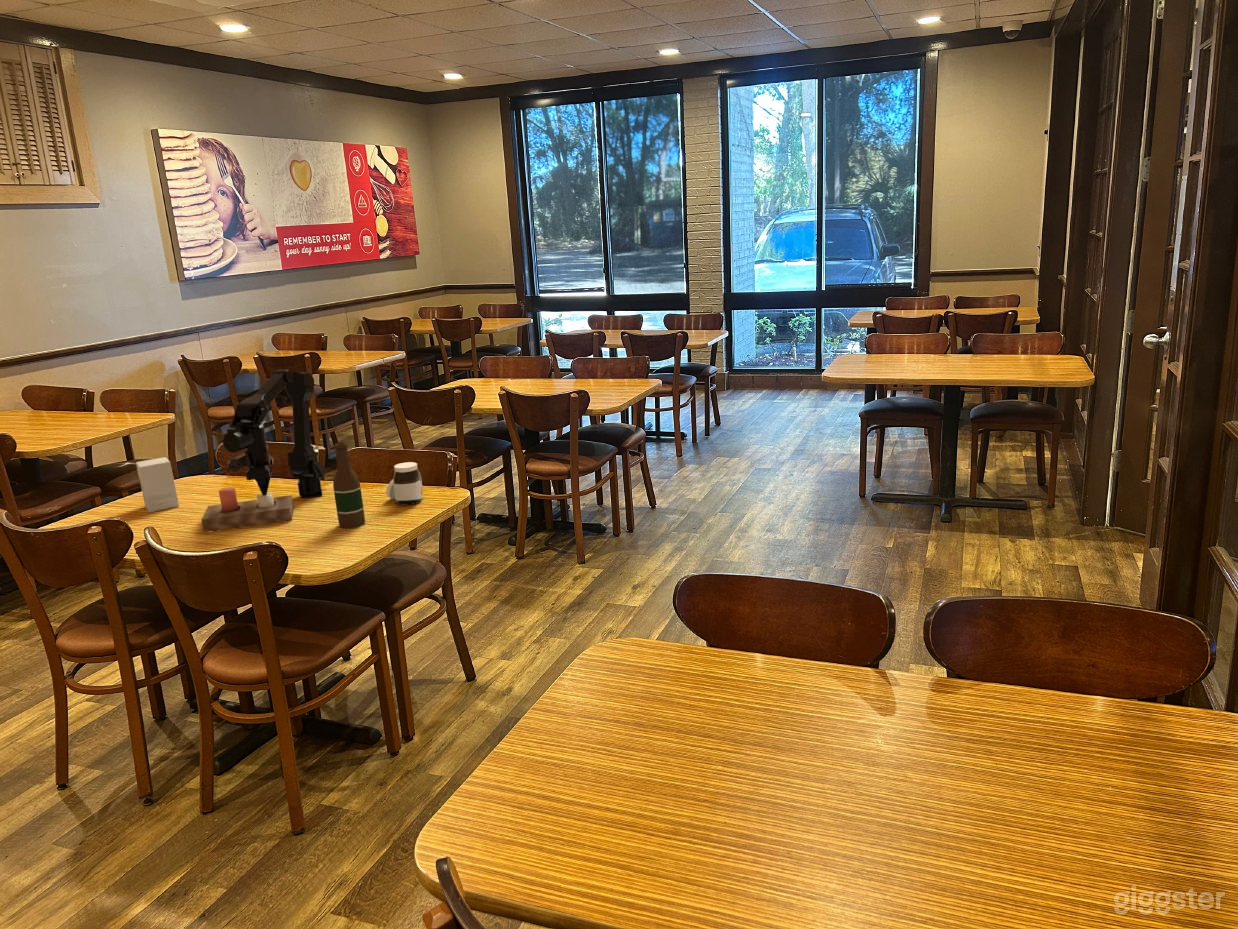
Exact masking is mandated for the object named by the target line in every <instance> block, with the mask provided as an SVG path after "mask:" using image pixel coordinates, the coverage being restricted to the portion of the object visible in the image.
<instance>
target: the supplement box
mask: <svg viewBox="0 0 1238 929" xmlns="http://www.w3.org/2000/svg"><path fill="white" fill-rule="evenodd" d="M135 464H136V470H137V474H138V479H139V483H140V489H141V493H142V498H143V503H144V507H145V509H146V510H147V512H148V513H153V512H158V511H163V510H167V509H173V508H177V507H180V502H179V498H178V493H177V488H176V483H175V478H174V475H173V470H172V468H173V467H172V464H171V461H170V460H169V459H168V458H167V457H159V458H153V459H147V460H141V461H136V462H135Z"/></svg>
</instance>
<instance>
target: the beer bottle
mask: <svg viewBox="0 0 1238 929" xmlns="http://www.w3.org/2000/svg"><path fill="white" fill-rule="evenodd" d="M348 446H349V445H348V444H347V442H345V441H344V442H337V443H334V449H335V454H336V466H337V467H336V473H335V475H334V477H333V482H332V485H333V494H334V502H335V508H336V514H337V520H338V525H339V528H341V529H347V528H349V529H354V528H359V527H361V526H363V525H365V524H366V519H365V518H366V517H365V516H366V515H365V509H364V503H363V495H362V487H361V483H360V479H359V477H358V476H357V474H356V472H355V471H354V470H353V469H352V466H351V461H350V457H349V456H350V455H349V451H348V448H349V447H348Z"/></svg>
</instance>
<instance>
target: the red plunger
mask: <svg viewBox="0 0 1238 929" xmlns="http://www.w3.org/2000/svg"><path fill="white" fill-rule="evenodd" d="M218 494H219V501H220V505H221V507H222V511H223V512H229V511H234V510H237V509H238V504H237V502H238V499H237V498H238V497H237V494H236V488H235V487H226V488H222V489H219V490H218Z"/></svg>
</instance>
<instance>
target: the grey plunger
mask: <svg viewBox="0 0 1238 929" xmlns="http://www.w3.org/2000/svg"><path fill="white" fill-rule="evenodd" d="M273 494H274V493H272V492H267V495H262V493H259V494H257V495H256V498H257V499H256V500H257V501H258V507H259V508H263V507H270V506H274V500H273V498H274V495H273Z"/></svg>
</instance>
